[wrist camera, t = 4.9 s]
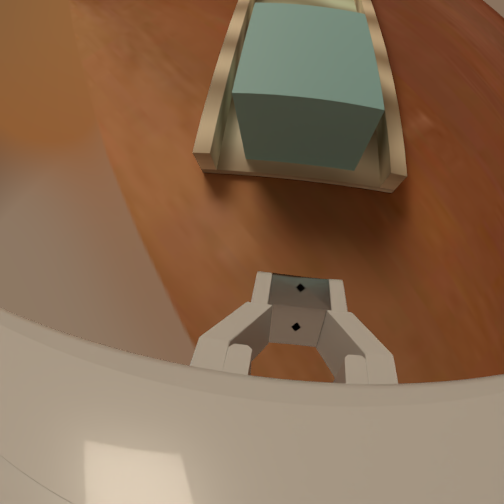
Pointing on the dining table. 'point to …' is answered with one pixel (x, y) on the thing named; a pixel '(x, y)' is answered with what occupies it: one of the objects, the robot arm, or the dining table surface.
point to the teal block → (307, 86)
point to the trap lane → (234, 162)
